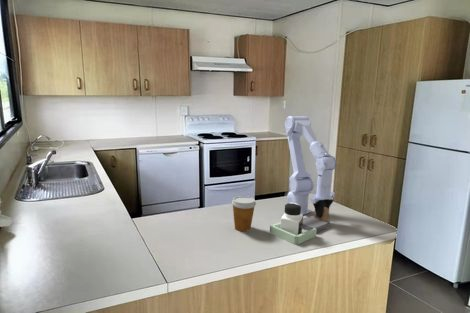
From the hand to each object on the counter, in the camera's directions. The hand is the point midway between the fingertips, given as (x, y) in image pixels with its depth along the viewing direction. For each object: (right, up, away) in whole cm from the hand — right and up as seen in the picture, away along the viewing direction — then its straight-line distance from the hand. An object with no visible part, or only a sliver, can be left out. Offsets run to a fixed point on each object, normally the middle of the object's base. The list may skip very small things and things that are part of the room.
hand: (321, 216), depth 136 cm
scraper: (-4, -4, -2) cm, 6 cm away
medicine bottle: (-15, -5, -11) cm, 19 cm away
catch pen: (-14, -5, -11) cm, 19 cm away
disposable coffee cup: (-33, -4, -8) cm, 34 cm away
